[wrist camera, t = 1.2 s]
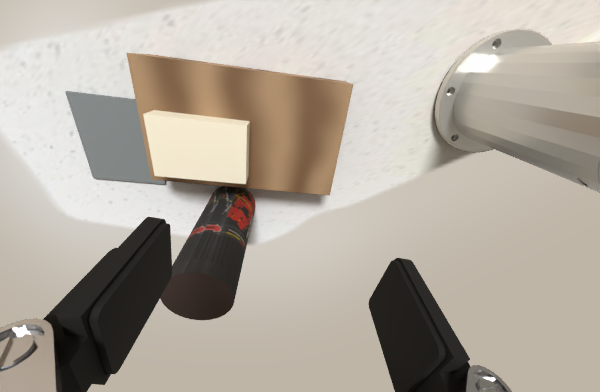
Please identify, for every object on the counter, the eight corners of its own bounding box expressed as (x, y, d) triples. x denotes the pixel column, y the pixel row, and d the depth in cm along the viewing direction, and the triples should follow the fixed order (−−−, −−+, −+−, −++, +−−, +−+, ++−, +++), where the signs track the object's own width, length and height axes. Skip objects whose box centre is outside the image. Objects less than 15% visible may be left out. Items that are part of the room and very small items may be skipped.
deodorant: (204, 188, 31) (145, 278, 18) (248, 181, 31) (221, 267, 18) (219, 224, 34) (177, 324, 21) (259, 218, 34) (242, 314, 21)
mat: (152, 101, 26) (151, 101, 26) (166, 183, 31) (165, 184, 30) (67, 91, 25) (65, 91, 25) (95, 177, 30) (93, 178, 30)
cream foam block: (249, 121, 24) (246, 125, 22) (248, 176, 26) (245, 184, 25) (154, 110, 23) (143, 114, 21) (163, 168, 25) (154, 176, 24)
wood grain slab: (344, 81, 26) (353, 84, 22) (324, 180, 32) (329, 195, 28) (150, 54, 24) (126, 53, 20) (167, 165, 30) (151, 179, 26)
